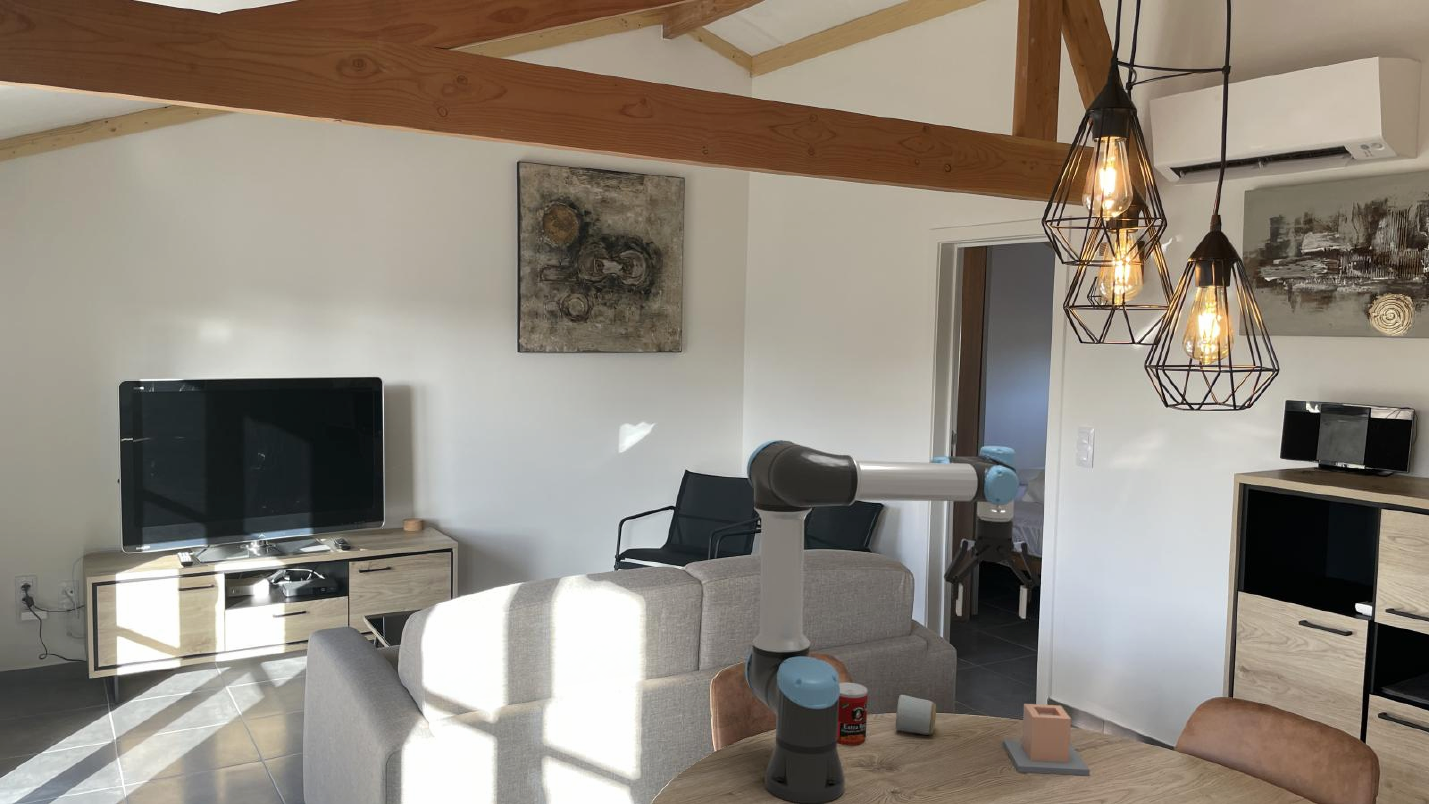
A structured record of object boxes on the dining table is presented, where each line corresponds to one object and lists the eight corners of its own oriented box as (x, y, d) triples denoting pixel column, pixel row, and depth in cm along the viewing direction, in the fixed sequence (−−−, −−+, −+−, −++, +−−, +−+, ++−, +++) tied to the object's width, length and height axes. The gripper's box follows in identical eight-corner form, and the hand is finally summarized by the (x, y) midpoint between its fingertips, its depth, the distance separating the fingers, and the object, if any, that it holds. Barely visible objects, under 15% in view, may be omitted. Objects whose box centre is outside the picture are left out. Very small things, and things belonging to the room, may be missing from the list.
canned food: (840, 747, 216) (842, 696, 215) (823, 733, 223) (825, 684, 223) (872, 743, 219) (874, 692, 218) (854, 729, 226) (856, 680, 226)
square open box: (1030, 760, 209) (1032, 717, 209) (1021, 745, 217) (1023, 703, 216) (1068, 762, 209) (1071, 719, 208) (1058, 747, 216) (1060, 705, 216)
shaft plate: (1018, 771, 206) (1018, 766, 206) (1002, 744, 220) (1002, 739, 220) (1089, 775, 206) (1089, 769, 206) (1069, 747, 220) (1069, 742, 219)
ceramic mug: (933, 740, 221) (934, 705, 221) (894, 735, 224) (896, 700, 223) (936, 724, 232) (938, 690, 231) (900, 719, 234) (901, 685, 234)
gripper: (939, 519, 218) (934, 617, 220) (1058, 523, 217) (1053, 623, 218) (933, 513, 226) (929, 608, 227) (1049, 517, 224) (1044, 613, 226)
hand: (990, 615), depth 223 cm, fingers open, 13 cm apart
